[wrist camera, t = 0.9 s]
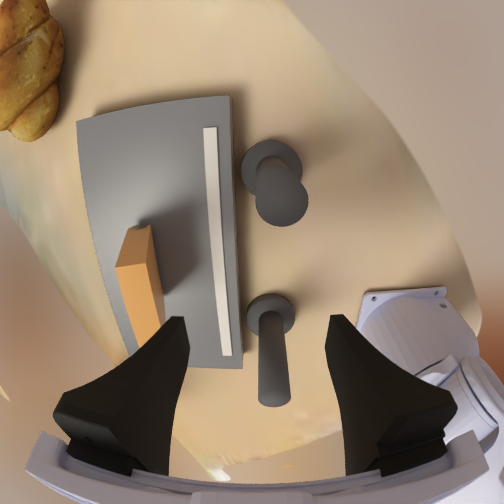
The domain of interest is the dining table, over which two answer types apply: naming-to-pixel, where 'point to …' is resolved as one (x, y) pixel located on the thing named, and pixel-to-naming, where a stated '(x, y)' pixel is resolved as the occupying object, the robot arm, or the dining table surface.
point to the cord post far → (271, 346)
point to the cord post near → (275, 182)
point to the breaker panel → (170, 214)
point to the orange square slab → (141, 283)
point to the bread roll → (29, 68)
